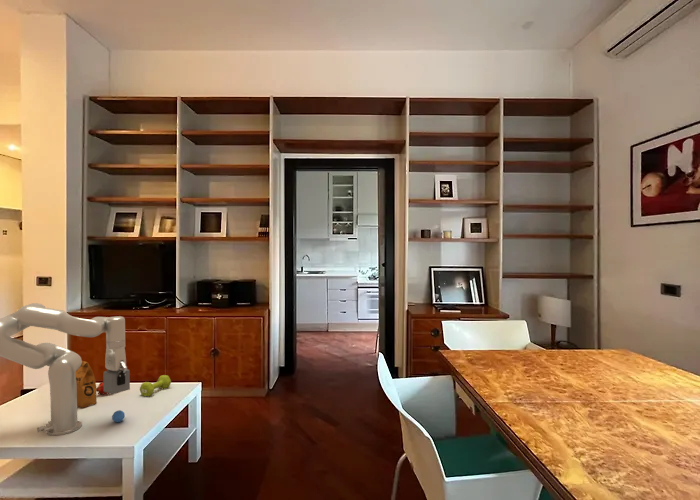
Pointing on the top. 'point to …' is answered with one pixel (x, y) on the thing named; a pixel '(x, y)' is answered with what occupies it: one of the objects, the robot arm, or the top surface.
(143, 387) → the dumbbell
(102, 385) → the dragon fruit
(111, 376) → the grey square block
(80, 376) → the coffee package
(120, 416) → the ball
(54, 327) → the robot arm
